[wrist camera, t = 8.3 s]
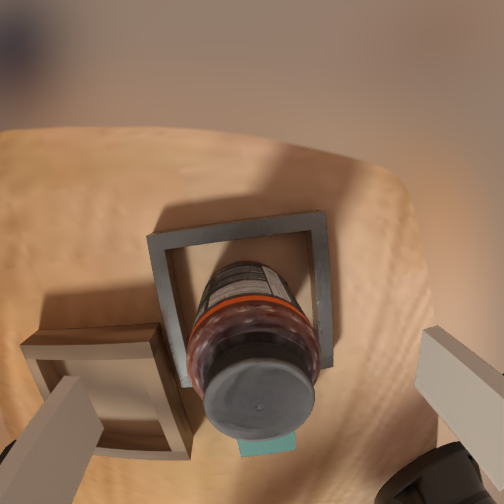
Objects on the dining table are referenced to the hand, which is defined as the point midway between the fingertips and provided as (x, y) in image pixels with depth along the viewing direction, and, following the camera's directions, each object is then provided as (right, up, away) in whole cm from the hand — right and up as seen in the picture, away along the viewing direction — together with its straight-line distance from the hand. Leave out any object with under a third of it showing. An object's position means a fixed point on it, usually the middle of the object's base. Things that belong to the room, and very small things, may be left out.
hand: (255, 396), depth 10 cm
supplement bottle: (0, +2, +11) cm, 11 cm away
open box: (-12, -6, +12) cm, 18 cm away
